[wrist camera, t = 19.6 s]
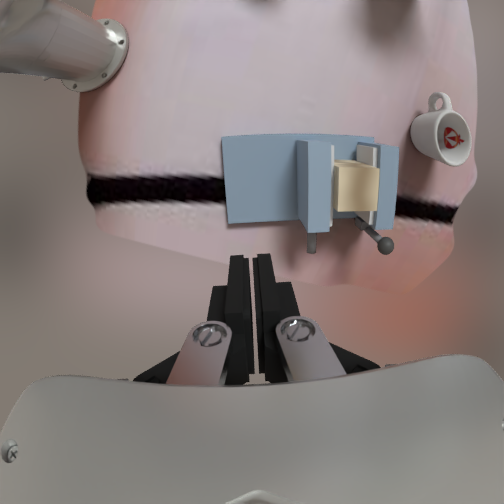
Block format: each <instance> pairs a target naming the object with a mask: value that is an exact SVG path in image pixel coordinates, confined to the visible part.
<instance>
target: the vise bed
mask: <svg viewBox="0 0 504 504" xmlns="http://www.w3.org/2000/svg"><path fill="white" fill-rule="evenodd" d="M296 140H320V141H327V142H331V145H334V160H355V161H358V162H361V163H364V164H367V165H370V166H373V167H376V168H379V169H380V172H379V190H378V203H377V211H343V212H338V211H336V210H335V209H334V208H333V219H337V218H355V225H356V226H357V227H358V228H359V229H360V230H364V231H365V232H366V233H367V234H368V235H370V236H371V237H372V238H373V239H374V240H375V241H376V242H377V243H378V245H377V247H378V250H379V252H380V253H382V254H384V255H387V254H390V253H391V252H392V251H393V249H394V243H393V241H392V239H390V238H389V237H383V238H382V237H381V236H380V235H379V234H378V233H377V232H376V231H374V230H382V229H393V222H394V214H395V205H396V194H397V182H398V164H399V147H395V146H390V145H384V144H378V143H374V137H363V136H350V135H330V134H261V135H241V136H227V137H222V151H223V164H224V178H225V190H226V202H227V214H228V224H232V223H248V222H266V221H286V220H300V219H299V217H298V215H297V146H296Z"/></svg>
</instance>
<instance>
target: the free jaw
mask: <svg viewBox="0 0 504 504" xmlns="http://www.w3.org/2000/svg"><path fill="white" fill-rule="evenodd" d="M296 146H297V215H298V217H299V219H300V220H301V222H302V224H303V225H304V227H305V229H306V231H307V253H310V254H313V253H315V252H316V235H317V232H329V227H330V226H332V222H333V199H334V145H331V142H327V141H320V140H296Z"/></svg>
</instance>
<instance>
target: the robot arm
mask: <svg viewBox="0 0 504 504" xmlns="http://www.w3.org/2000/svg"><path fill="white" fill-rule="evenodd" d="M128 44H129V39H128V33H127V31H126V29H125V28H124V26H123V25H121V24H120V23H119V22H117V21H115V20H112V19H100V20H94V19H93V18H91V17H89V16H87V15H86V14H84V13H82V12H80V11H78V10H77V9H75V8H73V7H71V6H69V5H67V4H65V3H64V2H62V1H60V0H0V73H14V74H27V75H36V76H42V79H43V80H44V81H45V80H47V79H49V78H58V79H61V81H62V83H63V84H64V86H66V87H67V88H68V89H70V90H72V91H76V92H88V91H91V90H94V89H96V88H98V87H100V86H102V85H103V84H105V83H106V82H107V81H109V80H110V79H111V78H112V77H113V76H114V74H115V73H116V72H117V71H118V69H119V68H120V66H121V65H122V63H123V61H124V59H125V57H126V54H127V50H128ZM253 272H254V273H253V274H254V290H255V309H256V324H257V325H256V326H257V343H258V359H259V373H265V381H269V382H270V383H269V384H251V385H243V384H245V383H246V382H249V374H254V373H255V372H254V349H253V348H254V346H253V322H252V304H251V288H250V274H249V258H244V257H243V255H234V256H230V265H229V274H228V284H227V285H226V286H213V289H212V294H211V300H210V306H209V311H208V317H207V321H206V322H202V323H200V324H198V325H196V326H194V327H193V328H192V329H191V330H190V332H189V333H188V335H187V338H186V340H185V342H184V344H183V346H182V349H181V351H179V352H177V353H176V354H174V355H172V356H171V357H169V358H167V359H166V360H164V361H162V362H161V363H159V364H157V365H155V366H154V367H152V368H150V369H149V370H147V371H145V372H143V373H142V374H140V375H138V376H137V377H136V378H134V380H133V381H129V380H128V379H107V378H98V377H90V376H79V375H57V376H52V377H46V378H42V379H39V380H37V381H35V382H33V383H32V384H30V385H29V386H28V387H27V388H26V389H25V391H24V392H23V393H22V395H21V396H20V397H19V399H18V401H17V402H16V404H15V405H14V407H13V409H12V411H11V412H10V414H9V416H8V418H7V420H6V422H5V424H4V427H3V428H2V431H1V433H0V504H504V382H503V381H502V379H501V378H500V377H499V375H498V374H497V373H496V372H495V370H494V369H493V368H492V367H491V366H490V365H489V364H487V363H486V362H485V361H484V360H482V359H480V358H478V357H475V356H469V355H458V354H450V355H439V356H434V357H427V358H423V359H419V360H415V361H410V362H405V363H401V364H387V365H385V367H383V368H381V367H380V366H379V365H377V364H375V363H374V362H372V361H370V360H367V359H365V358H363V357H360V356H358V355H356V354H354V353H351V352H349V351H347V350H345V349H342V348H340V347H338V346H336V345H334V344H332V343H329V342H328V340H327V339H326V337H325V335H324V334H323V332H322V330H321V328H320V327H319V325H318V324H317V323H316V322H315V321H314V320H312V319H310V318H307V317H302V316H300V313H299V309H298V305H297V302H296V298H295V295H294V291H293V288H292V284H291V282H279V283H276V282H275V276H274V271H273V266H272V260H271V255H270V253H269V254H257V258H253Z"/></svg>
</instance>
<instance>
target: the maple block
mask: <svg viewBox="0 0 504 504" xmlns="http://www.w3.org/2000/svg"><path fill="white" fill-rule="evenodd" d="M379 172H380V169H379V168H376V167H373V166H370V165H367V164H364V163H361V162H358V161H355V160H334V199H333V208H334V209H335V210H336V211H338V212H343V211H377V203H378V190H379Z"/></svg>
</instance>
